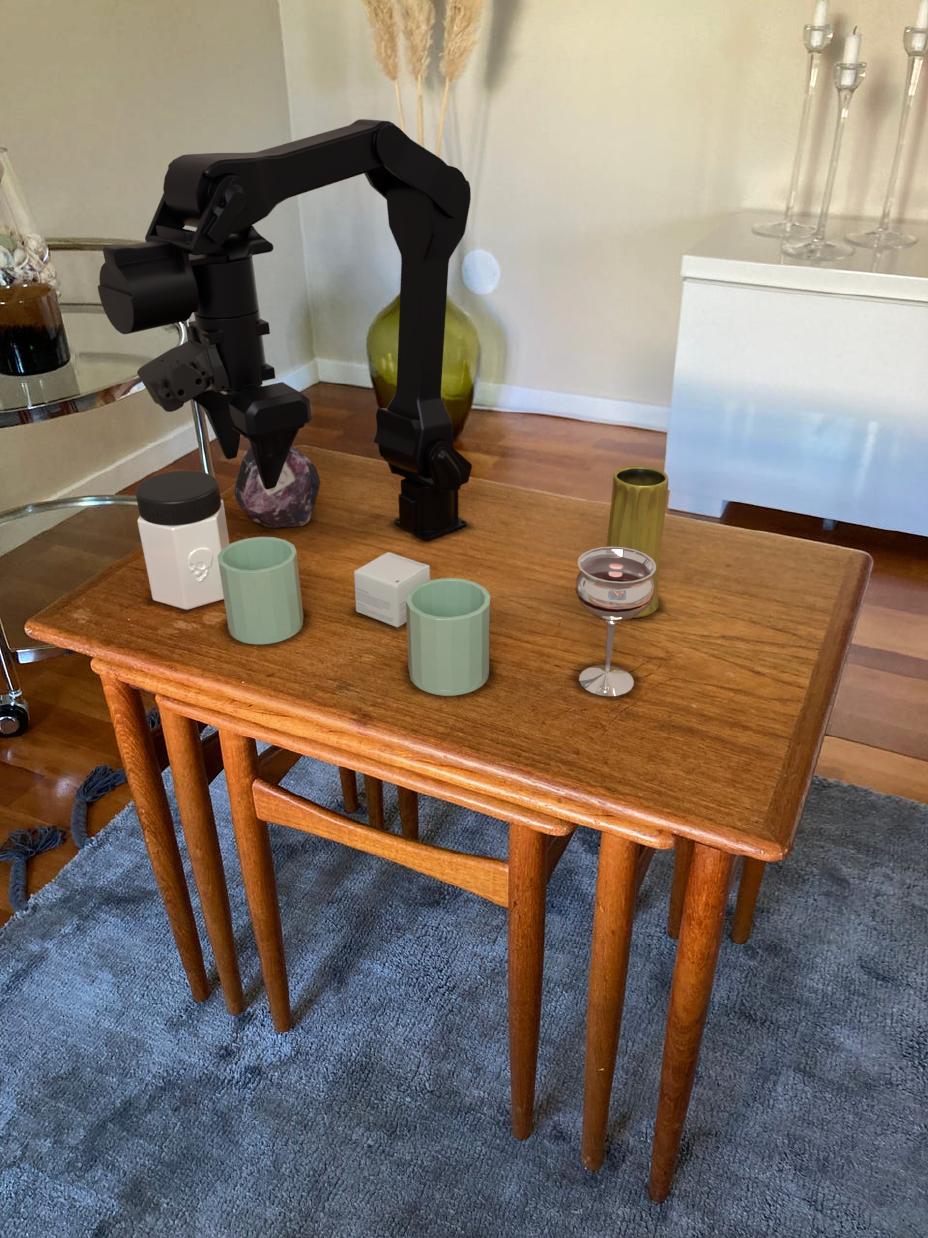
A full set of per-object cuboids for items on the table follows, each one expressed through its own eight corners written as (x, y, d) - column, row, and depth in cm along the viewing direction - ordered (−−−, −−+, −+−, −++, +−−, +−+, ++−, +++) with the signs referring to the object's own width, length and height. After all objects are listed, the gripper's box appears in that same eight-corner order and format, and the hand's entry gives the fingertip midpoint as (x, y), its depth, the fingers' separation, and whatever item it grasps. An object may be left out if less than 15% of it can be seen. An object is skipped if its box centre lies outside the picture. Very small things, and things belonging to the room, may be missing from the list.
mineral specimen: (215, 523, 112) (221, 436, 111) (261, 522, 122) (267, 442, 121) (289, 533, 109) (296, 444, 108) (330, 531, 119) (337, 450, 118)
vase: (664, 596, 101) (680, 469, 94) (648, 624, 96) (663, 492, 89) (608, 585, 103) (619, 459, 96) (590, 611, 98) (600, 481, 91)
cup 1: (279, 598, 101) (271, 530, 97) (317, 627, 96) (310, 555, 92) (215, 622, 97) (203, 551, 93) (251, 653, 92) (241, 579, 88)
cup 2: (454, 642, 93) (453, 569, 89) (505, 675, 89) (507, 600, 84) (393, 670, 89) (389, 595, 85) (443, 706, 84) (442, 628, 80)
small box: (432, 606, 99) (431, 564, 97) (397, 629, 95) (395, 586, 93) (389, 590, 102) (387, 549, 100) (354, 612, 98) (351, 570, 96)
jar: (166, 618, 97) (145, 510, 91) (141, 585, 103) (120, 481, 97) (249, 594, 102) (234, 489, 95) (220, 563, 107) (205, 463, 101)
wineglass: (656, 694, 86) (671, 576, 80) (586, 707, 84) (595, 588, 78) (624, 655, 91) (635, 541, 85) (558, 666, 90) (564, 552, 84)
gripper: (104, 304, 89) (137, 462, 97) (177, 350, 76) (208, 529, 84) (218, 286, 94) (240, 437, 102) (304, 327, 81) (322, 496, 89)
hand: (250, 472), depth 94 cm, fingers open, 9 cm apart
